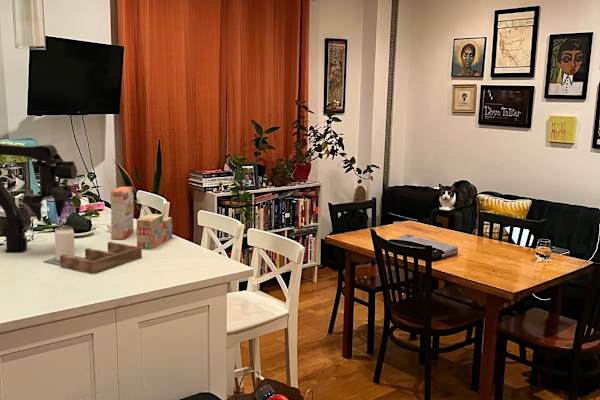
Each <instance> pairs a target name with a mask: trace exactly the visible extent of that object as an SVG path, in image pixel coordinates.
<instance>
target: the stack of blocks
mask: <svg viewBox="0 0 600 400" xmlns="http://www.w3.org/2000/svg"><path fill="white" fill-rule="evenodd" d="M172 238H173V217H171V216H169V217H168V216H164V214H160V213H148V214H146V215H144V216H142V217H140V218H137V219H136V247H142V250H148V251H152V250H154V249H157V247H159V246H160V245H162V244H164V243H166V242H168V241H169V240H171V239H172Z"/></svg>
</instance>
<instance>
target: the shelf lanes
mask: <svg viewBox="0 0 600 400" xmlns="http://www.w3.org/2000/svg"><path fill="white" fill-rule="evenodd" d="M142 250H143V249H142V247H137V245H136V246H135V245H132V244H131V245H129V244H124V243H119V242H113V241H108V242H107V251H104V250H99V249H94V248H90V247H87V248H85V249H84V255H85V257H84V258H85V259H80V258H75V257H70V256H65V255H62V256H60V263H61V266H60V268H64V269H69V270H72V271H73V270H74V271H77V272H81V273H82V272H84V273H86V272H87V273H86V274H91V273H92V275H94V273H95V274H98V273H101V272H105V271H106V270H109V269H112V268H115V267H119V266H122V265H125V264H127V263H130V262H133V261H137V260H139V259H142V257H143V256H142V253H143V251H142ZM90 260H91V261H90ZM97 272H98V273H97Z"/></svg>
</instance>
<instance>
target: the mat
mask: <svg viewBox="0 0 600 400" xmlns="http://www.w3.org/2000/svg"><path fill="white" fill-rule="evenodd" d="M75 258H80V259H85V257H83V256H78V255H75ZM42 263H45V264H50V265H56V266H60V267H61V263H60V262H59V261H57V260H56V257H54V258H50V259H46V260H43V261H42Z"/></svg>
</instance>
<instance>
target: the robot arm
mask: <svg viewBox="0 0 600 400" xmlns="http://www.w3.org/2000/svg"><path fill="white" fill-rule="evenodd" d="M2 155H4V156H13V157H14V156H17V157H25V158H26V157H27V158H30V159H33V160H36V162H35V163H33V164H32V166H33V167H37V168H38V169H39V171H38V172H39V174H38V175H39V180H37V185H39V191H37V194H34V193H33V194H32V193H30V194H24V196H22V203H23V204H25V205H27V206H28V207H29V208H30V209H31V211H32V213H33V214H34V216H35V218H36V219H37V221H38V222H41V221H42V207H43V205H44V203H42V202H43V201H46V200H51V199H54V200H53V201H54V205H55V211H56V215H57V217H59V218H60V217H61V216H62V213H63V210H64V208H65V204H66V203H67V202H68V201H70V200H71V198H73V197H74V195H73V191H72V186H70V185H69V184H67V185H64V186H61V185H60V182H59V179H60V180H76V178H77V176H78V169H77V166H76V164H75V161H74V160H71V161H65V160H63V158H62V156H60V154H59V153H58V150H57V148H56V147H55V145H53V144H43V145H42V144H41V145H35V146H32V145H31V146H29V145H18V144H17V145H15V144H7V143H5V144H4V143H0V157H1V156H2ZM57 178H58V180H57ZM0 206H1V208H2V210H3V212H4V214H5V221H6V224H7V226H6V228H5V229H3V231H2V236H3V237H4V238H5V241H6V243H5V244H6V250H5V253H22V252H25V251H26V249H28V237H27V236H26V233H27V232H28V230H29V228H31V226H32V223H33V222H32V219H31V218H32V216H31V215H30V214H29V213H28V210H27V209H26V208H23V209H21V208H19V206H18V205H17V204H16V202H15V201H14V199H13V198H12V196H11V195H10V193H9V191H8V189H7V188H6V186H5V185H4V183H3V182H2V179H0Z"/></svg>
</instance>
